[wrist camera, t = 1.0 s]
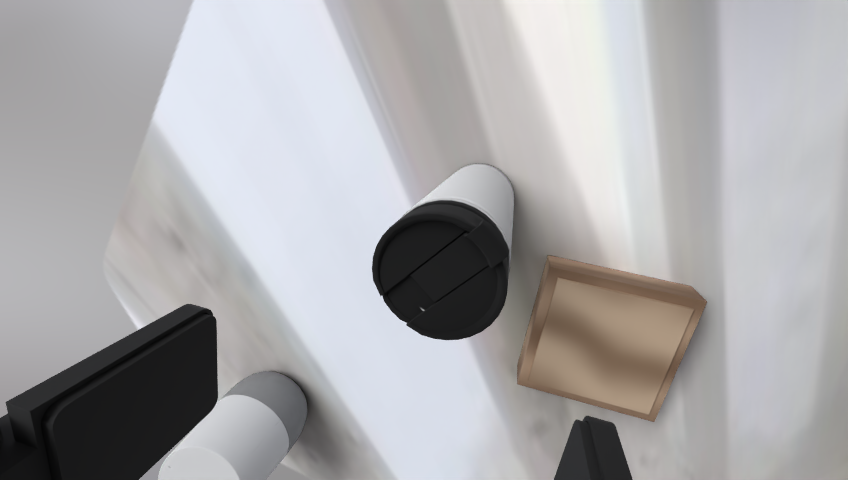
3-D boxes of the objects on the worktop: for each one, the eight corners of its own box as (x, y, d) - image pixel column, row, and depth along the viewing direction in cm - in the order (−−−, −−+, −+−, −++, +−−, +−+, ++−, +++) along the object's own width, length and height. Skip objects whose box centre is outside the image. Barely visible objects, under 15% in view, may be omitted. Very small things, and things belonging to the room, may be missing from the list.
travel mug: (532, 200, 34) (548, 297, 15) (474, 244, 36) (427, 374, 18) (486, 145, 34) (446, 176, 15) (431, 193, 36) (336, 272, 17)
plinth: (548, 255, 35) (550, 268, 32) (691, 286, 33) (708, 303, 30) (517, 365, 39) (517, 386, 36) (644, 399, 37) (655, 424, 34)
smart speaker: (328, 394, 46) (252, 502, 33) (297, 440, 49) (217, 555, 36) (262, 348, 46) (161, 438, 33) (236, 397, 49) (135, 496, 36)
